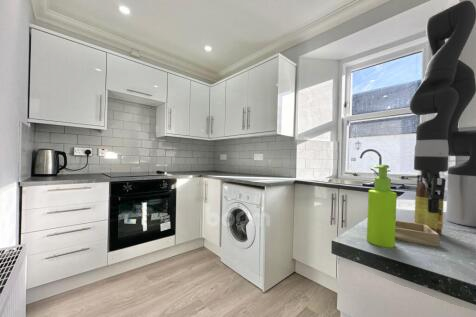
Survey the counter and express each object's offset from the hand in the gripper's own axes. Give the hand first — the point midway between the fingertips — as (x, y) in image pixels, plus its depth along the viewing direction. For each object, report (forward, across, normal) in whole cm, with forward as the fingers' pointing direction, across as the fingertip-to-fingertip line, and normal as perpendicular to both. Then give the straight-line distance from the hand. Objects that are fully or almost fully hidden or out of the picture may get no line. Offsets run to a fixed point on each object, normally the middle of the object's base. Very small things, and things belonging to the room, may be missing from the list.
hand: (428, 210), depth 62 cm
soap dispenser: (+7, -19, +15) cm, 25 cm away
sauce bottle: (+7, 0, 0) cm, 7 cm away
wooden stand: (+7, -9, +7) cm, 13 cm away
